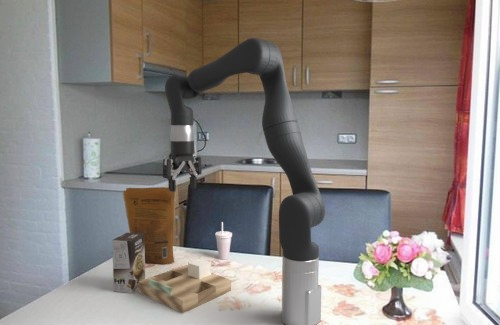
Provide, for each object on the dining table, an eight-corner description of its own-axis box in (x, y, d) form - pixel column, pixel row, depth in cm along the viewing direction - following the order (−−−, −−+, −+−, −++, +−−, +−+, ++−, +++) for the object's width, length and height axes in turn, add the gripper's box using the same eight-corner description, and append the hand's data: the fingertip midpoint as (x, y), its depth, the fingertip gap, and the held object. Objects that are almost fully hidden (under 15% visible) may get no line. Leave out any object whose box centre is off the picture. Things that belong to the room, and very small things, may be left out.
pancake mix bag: (173, 267, 143) (172, 188, 140) (123, 263, 146) (121, 187, 143) (180, 260, 149) (179, 185, 147) (132, 257, 153) (130, 184, 150)
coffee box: (132, 293, 121) (131, 240, 119) (112, 291, 122) (111, 239, 120) (146, 281, 130) (145, 232, 128) (127, 280, 131) (126, 231, 129)
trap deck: (230, 290, 123) (230, 273, 122) (182, 313, 108) (182, 293, 108) (186, 274, 136) (186, 258, 135) (138, 292, 121) (138, 275, 121)
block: (211, 274, 127) (210, 262, 126) (199, 279, 123) (199, 266, 122) (200, 270, 130) (199, 258, 129) (188, 275, 126) (188, 262, 126)
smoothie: (212, 256, 154) (212, 220, 152) (228, 254, 156) (228, 219, 155) (218, 262, 148) (218, 224, 147) (234, 259, 151) (234, 223, 149)
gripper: (172, 140, 121) (173, 194, 123) (206, 139, 132) (207, 188, 134) (156, 139, 126) (157, 191, 127) (191, 138, 137) (191, 186, 138)
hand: (183, 189), depth 131 cm, fingers open, 8 cm apart
